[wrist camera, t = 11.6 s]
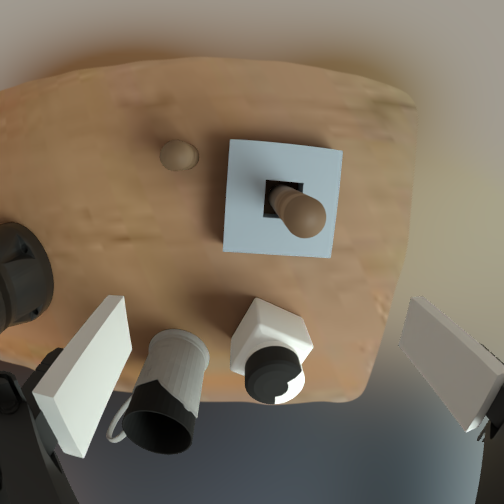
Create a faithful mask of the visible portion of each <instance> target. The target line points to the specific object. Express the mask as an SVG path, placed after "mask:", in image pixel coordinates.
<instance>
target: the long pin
mask: <svg viewBox="0 0 504 504" xmlns="http://www.w3.org/2000/svg"><path fill="white" fill-rule="evenodd" d="M268 201H269V204H270V205H271V206H272V208H273V209H274V210H275V212H276V213H277V215H278V216H279V217H280V219H281V220H282V221H283V223H284V224H285V225H286V227H287V228H288V230H289V231H290V232H291V233H292V234H293V235H295V236H297V237H299V238H311V237H314V236H316V235H317V234H319V233H320V232H321V231H322V229H323V228H324V226H325V223H326V211H325V208H324V207H323V205H322V204H321V203H320V202H319V201H318V200H317V199H315V198H313V197H310V196H308V195H306V194H304V193H302V192H300V191H297V190H295V189H293V188H291V187H288V186H286V185H283V184H279V185H276V186H274V187H272V188H271V190H270V191H269V193H268Z"/></svg>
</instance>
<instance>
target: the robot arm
mask: <svg viewBox="0 0 504 504" xmlns="http://www.w3.org/2000/svg"><path fill="white" fill-rule="evenodd" d="M53 288H54V283H53V274H52V269H51V265H50V262H49V259H48V257H47V254H46V252H45V250H44V248H43V246H42V245H41V243H40V242H39V240H38V239H37V238H36V237H35V235H34V234H33V233H32V232H31V231H30V230H28V229H27V228H26V227H24V226H22V225H20V224H17V223H5V224H2V225H0V334H1V333H2V332H3V331H4V330H5V329H6V328H8V327H11V326H15V325H18V324H22V323H26V322H30V321H32V320H34V319H36V318H38V317H39V316H40V315H41V314H42V313H43V312H44V311H45V310H46V309H47V308H48V306H49V305H50V303H51V300H52V296H53ZM398 346H399V347H400V348H401V350H402V351H403V352H404V353H405V355H406V356H407V357H408V358H409V359H410V361H411V362H412V363H413V364H414V366H415V367H416V368H417V369H418V371H419V372H420V373H421V374H422V376H423V377H424V378H425V380H426V381H427V382H428V383H429V385H430V386H431V387H432V389H433V390H434V391H435V392H436V394H437V395H438V396H439V398H440V399H441V400H442V401H443V403H444V404H445V405H446V407H447V408H448V409H449V411H450V412H451V413H452V415H453V416H454V417H455V419H456V420H457V421H458V423H459V424H460V426H461V427H462V428H463V429H464V431H465V432H468V431H470V430H472V429H475V428H477V427H479V425H480V424H481V422H482V420H483V419H484V417H485V416H487V417H488V418H489V421H488V423H487V424H486V426H485V427H484V429H483V430H482V432H481V433H480V435H479V436H478V438H477V441H479V440H480V439H481V437H482V436H483V435H485V438H484V439H483V441H482V442H484V451H483V460H482V468H481V474H480V481H479V487H478V492H477V497H476V502H475V504H504V363H502V362H501V361H500V360H499V359H498V358H497V357H495V355H493V354H492V353H491V352H489V350H488V349H487V348H486V347H484V346H483V345H482V344H480V343H479V342H477V341H476V340H475V339H474V338H473V337H472V336H470V335H469V334H468V333H467V332H466V331H465V330H463V329H462V328H461V327H460V326H459V325H457V324H456V323H455V322H454V321H453V320H452V319H450V318H449V317H448V316H447V315H446V314H444V313H443V312H442V311H441V310H439V309H438V308H437V307H436V306H434V305H433V304H432V303H431V302H429V301H428V300H427V299H426V298H425V297H423V296H420V297H411V299H410V303H409V308H408V311H407V316H406V319H405V323H404V327H403V330H402V334H401V337H400V341H399V345H398ZM131 350H132V345H131V340H130V334H129V328H128V321H127V315H126V308H125V301H124V296H115V295H108V296H107V297H106V298H105V299H104V301H103V302H102V303H101V304H100V305H99V306H98V308H97V309H96V310H95V311H94V312H93V314H92V315H91V316H90V317H89V318H88V320H87V321H86V322H85V323H84V325H83V326H82V327H81V328H80V329H79V331H78V332H77V333H76V334H75V336H74V337H73V338H72V339H71V341H70V342H69V343H68V344H67V346H66V347H65V348H64V349H63V348H56V349H55V350H53V351H52V352H50V353H49V354H47V356H46V357H45V358H44V359H43V360H42V362H41V364H39V365H38V367H37V368H36V371H34V372H33V373H32V374H31V376H30V377H29V378H28V379H27V381H26V382H25V383H24V385H23V386H22V388H20V386H19V384H18V382H17V379H16V377H15V375H13V374H12V373H10V372H6V371H0V504H79V502H78V501H77V498H76V496H75V495H74V492H73V490H72V489H71V486H70V484H69V482H68V480H67V478H66V475H65V473H64V471H63V469H62V466H61V464H60V461H59V459H58V456H57V455H56V453H55V451H54V449H55V446H56V444H57V442H58V443H59V445H60V447H61V448H62V450H63V452H64V453H67V454H70V455H74V456H77V457H81V458H84V457H85V454H86V452H87V449H88V447H89V444H90V442H91V439H92V437H93V435H94V432H95V430H96V427H97V425H98V423H99V420H100V418H101V416H102V414H103V411H104V409H105V406H106V404H107V402H108V400H109V398H110V395H111V393H112V391H113V389H114V387H115V384H116V382H117V380H118V378H119V376H120V374H121V371H122V369H123V367H124V365H125V363H126V361H127V359H128V357H129V355H130V353H131Z"/></svg>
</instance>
